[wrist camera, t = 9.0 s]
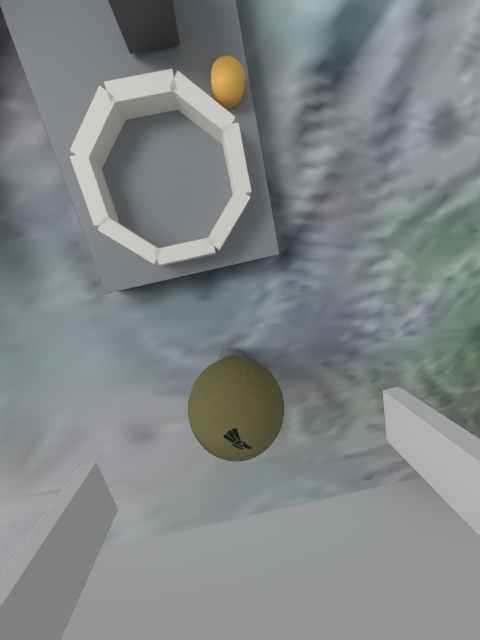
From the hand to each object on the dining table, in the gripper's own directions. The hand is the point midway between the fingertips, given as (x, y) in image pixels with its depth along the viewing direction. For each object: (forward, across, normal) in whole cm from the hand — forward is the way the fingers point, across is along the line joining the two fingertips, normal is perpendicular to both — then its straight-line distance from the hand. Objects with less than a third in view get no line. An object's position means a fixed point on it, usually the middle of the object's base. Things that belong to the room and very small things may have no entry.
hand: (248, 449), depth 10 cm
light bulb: (+11, 0, 0) cm, 11 cm away
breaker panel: (+10, -1, +22) cm, 25 cm away
